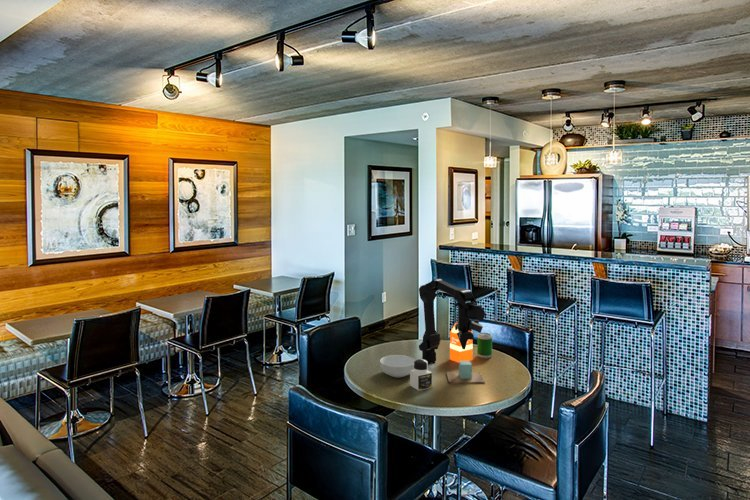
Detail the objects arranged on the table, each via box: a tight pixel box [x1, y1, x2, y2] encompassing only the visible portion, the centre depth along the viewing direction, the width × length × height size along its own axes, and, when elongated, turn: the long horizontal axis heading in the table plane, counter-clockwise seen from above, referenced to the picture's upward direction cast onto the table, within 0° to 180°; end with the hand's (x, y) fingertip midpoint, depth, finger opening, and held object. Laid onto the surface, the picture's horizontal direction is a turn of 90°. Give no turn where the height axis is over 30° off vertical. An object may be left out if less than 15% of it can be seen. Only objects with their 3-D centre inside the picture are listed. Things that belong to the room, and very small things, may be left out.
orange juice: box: [449, 322, 474, 364], centre depth 256 cm, size 8×9×20 cm
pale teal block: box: [458, 361, 473, 379], centre depth 230 cm, size 5×5×7 cm
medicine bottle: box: [409, 358, 433, 392], centre depth 220 cm, size 7×7×12 cm
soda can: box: [476, 332, 493, 359], centre depth 261 cm, size 8×8×12 cm
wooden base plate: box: [445, 371, 486, 385], centre depth 230 cm, size 16×12×7 cm
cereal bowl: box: [379, 354, 416, 379], centre depth 236 cm, size 17×17×7 cm
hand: (463, 349), depth 234 cm, fingers closed
